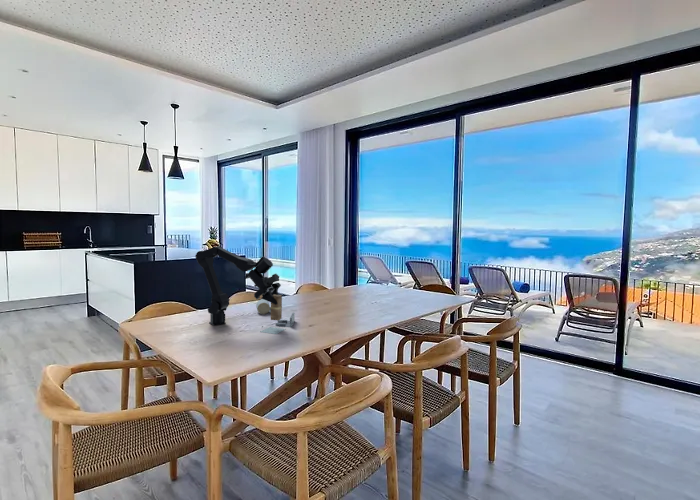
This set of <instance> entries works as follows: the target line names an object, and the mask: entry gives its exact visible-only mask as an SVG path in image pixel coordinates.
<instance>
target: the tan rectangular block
mask: <svg viewBox="0 0 700 500" xmlns="http://www.w3.org/2000/svg"><path fill="white" fill-rule="evenodd" d="M273 297H274V298H275V300H276V301H277V305H275V304H273V303H271V302H270V307H271V313H270V321H276V322H278V320H283V319H282V318H283V317H282V314H283V313H282V308H283V303H282V302H283V294H279V295H276V294H274V295H273Z"/></svg>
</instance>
